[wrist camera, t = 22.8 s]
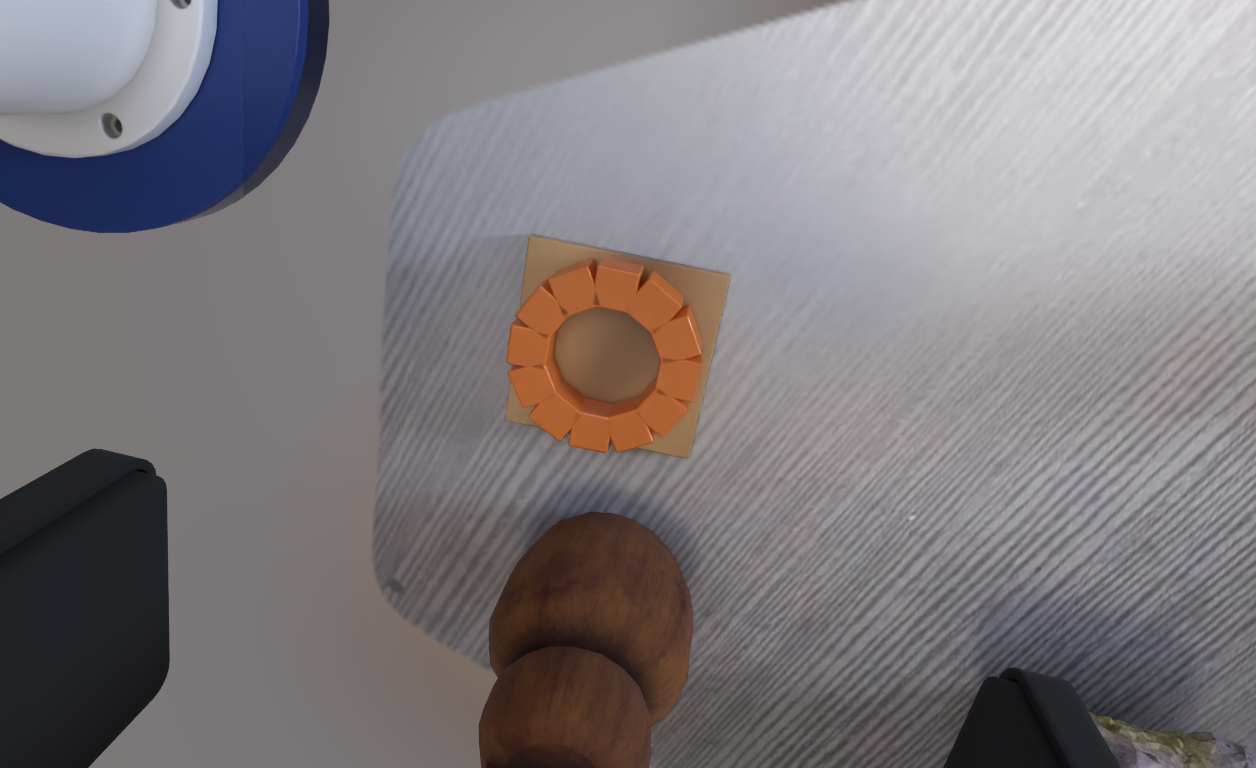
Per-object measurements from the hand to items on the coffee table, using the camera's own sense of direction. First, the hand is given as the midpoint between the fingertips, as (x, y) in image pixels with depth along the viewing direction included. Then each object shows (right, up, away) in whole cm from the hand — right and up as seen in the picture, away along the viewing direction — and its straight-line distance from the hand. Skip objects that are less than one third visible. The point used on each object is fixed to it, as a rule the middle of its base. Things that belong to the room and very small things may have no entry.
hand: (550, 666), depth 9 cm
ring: (0, +4, +19) cm, 20 cm away
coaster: (0, +4, +20) cm, 20 cm away
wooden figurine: (0, -4, +23) cm, 23 cm away
